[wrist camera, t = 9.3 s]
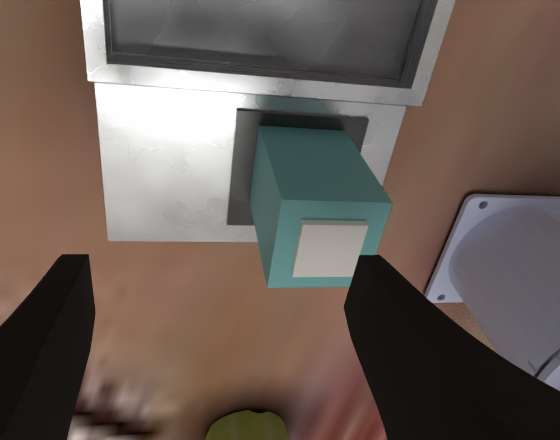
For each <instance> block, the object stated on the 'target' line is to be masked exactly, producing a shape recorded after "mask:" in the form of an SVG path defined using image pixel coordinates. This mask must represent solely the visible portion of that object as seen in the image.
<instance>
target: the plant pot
mask: <svg viewBox="0 0 560 440" xmlns="http://www.w3.org/2000/svg"><path fill="white" fill-rule="evenodd" d="M205 440H290V439H289V436H288V433H287V430H286V427H285V424H284V422H283V420H282V419H281V418H280V417H279V416H278V415H276V414H274V413H272V412H268V411H266V412H264V413H254V412H252V411H249V410H245V411H239V412H236V413H232V414H229V415H227V416H225V417H223V418H221V419H219V420H217V421H216V422H215V423H213V424H212V425H211V427H210V429H209V431H208V433H207V435H206V437H205Z"/></svg>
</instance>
